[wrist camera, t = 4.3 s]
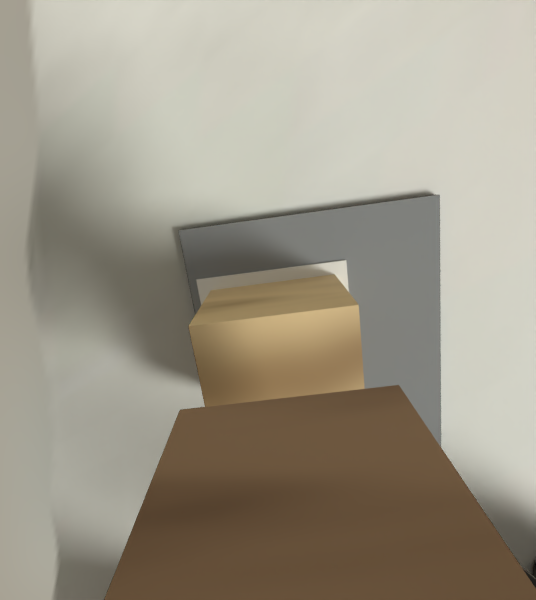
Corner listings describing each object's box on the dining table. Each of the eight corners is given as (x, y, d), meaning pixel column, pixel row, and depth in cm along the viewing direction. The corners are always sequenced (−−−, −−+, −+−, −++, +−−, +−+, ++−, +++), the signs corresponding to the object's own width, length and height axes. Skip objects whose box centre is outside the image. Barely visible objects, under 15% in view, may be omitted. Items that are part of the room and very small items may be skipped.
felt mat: (437, 478, 21) (441, 485, 21) (234, 499, 22) (233, 506, 21) (436, 194, 17) (440, 194, 16) (180, 229, 17) (178, 231, 17)
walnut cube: (403, 553, 10) (536, 907, 5) (216, 570, 10) (168, 930, 5) (398, 385, 8) (580, 655, 3) (179, 409, 8) (64, 699, 4)
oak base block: (344, 386, 19) (368, 450, 14) (230, 399, 19) (217, 466, 15) (334, 274, 18) (358, 304, 13) (210, 290, 18) (188, 326, 13)
